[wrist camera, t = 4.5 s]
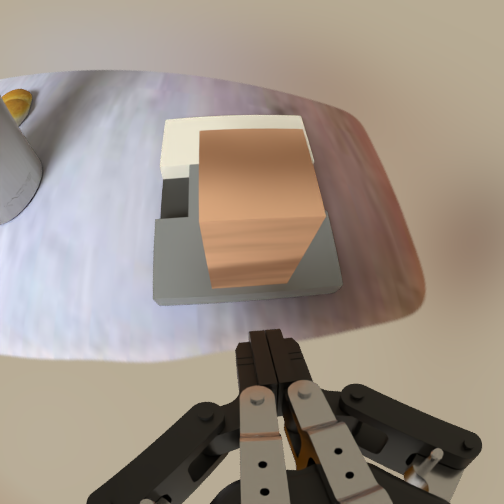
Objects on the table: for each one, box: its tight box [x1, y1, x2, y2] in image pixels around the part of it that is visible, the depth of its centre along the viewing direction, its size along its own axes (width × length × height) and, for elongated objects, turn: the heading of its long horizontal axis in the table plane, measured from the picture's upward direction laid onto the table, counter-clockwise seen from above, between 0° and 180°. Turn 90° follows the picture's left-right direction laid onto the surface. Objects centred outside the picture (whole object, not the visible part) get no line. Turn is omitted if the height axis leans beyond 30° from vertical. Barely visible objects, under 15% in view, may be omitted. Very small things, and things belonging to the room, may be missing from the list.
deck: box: [153, 164, 343, 306], centre depth 23 cm, size 11×13×2 cm
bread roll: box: [2, 89, 32, 127], centre depth 27 cm, size 8×9×4 cm
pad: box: [160, 115, 314, 179], centre depth 26 cm, size 6×13×2 cm, turn 95°
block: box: [199, 128, 326, 289], centre depth 17 cm, size 5×5×9 cm
